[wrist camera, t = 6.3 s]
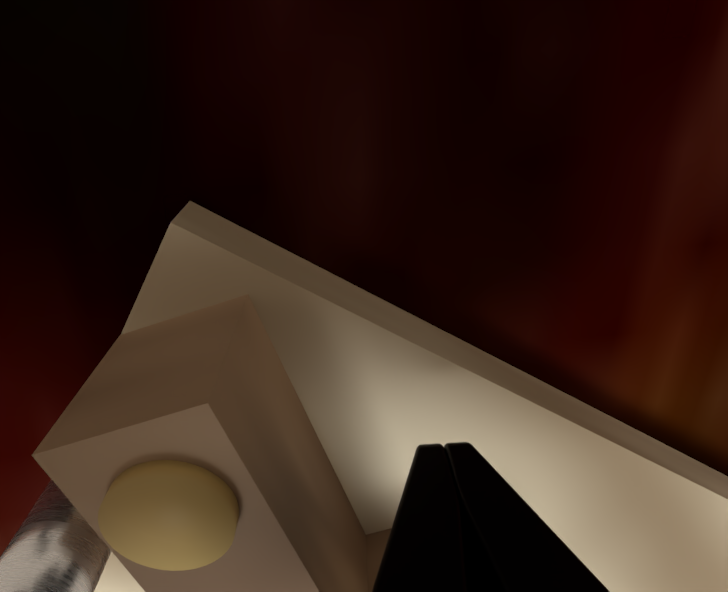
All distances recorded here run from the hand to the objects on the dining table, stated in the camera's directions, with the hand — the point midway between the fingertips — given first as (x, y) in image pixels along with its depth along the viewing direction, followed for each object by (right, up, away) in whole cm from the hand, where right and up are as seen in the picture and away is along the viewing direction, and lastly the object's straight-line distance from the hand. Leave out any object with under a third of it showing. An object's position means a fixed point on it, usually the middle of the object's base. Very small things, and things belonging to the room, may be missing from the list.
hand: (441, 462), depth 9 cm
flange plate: (-2, -3, +4) cm, 6 cm away
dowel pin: (-7, -1, +2) cm, 7 cm away
